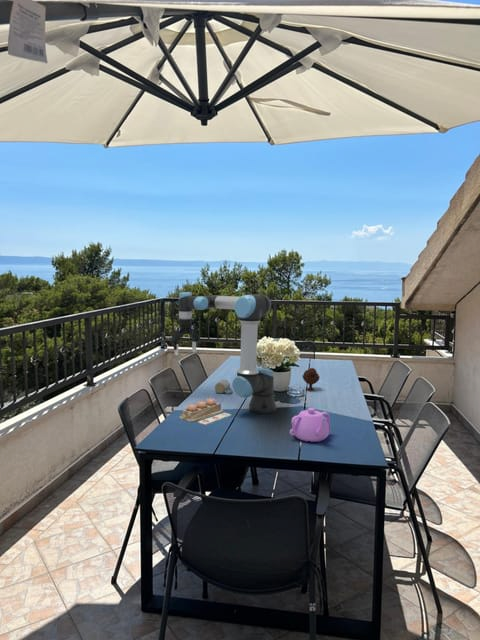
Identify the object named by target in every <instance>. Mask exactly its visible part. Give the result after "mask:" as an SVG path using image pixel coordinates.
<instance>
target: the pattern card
mask: <svg viewBox="0 0 480 640" xmlns="http://www.w3.org/2000/svg"><path fill="white" fill-rule="evenodd" d="M229 417H232V414H231V413H227V412H222V413H219V414H216V415H213V416H210V417H207V418H204V419H201V420H198V421H197V422H198V424H201V425H204V426H206V425H209V424H213V423H214V422H218V421H220V420H223V419H226V418H229Z"/></svg>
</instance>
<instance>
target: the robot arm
mask: <svg viewBox="0 0 480 640" xmlns="http://www.w3.org/2000/svg"><path fill="white" fill-rule="evenodd" d="M271 308H272V301H271V300H270V298H269V296H267V295H265V294H263V293H262V294H261V293H259V294H258V293H257V294H245V295H241V296H233V295H232V296H230V295H228V296H227V295H217V294H215V295H214V294H213V295H198V296H194V295H193V296H192V292H191V291H190V292H189V291H187V292H186V291H184V292H183V291H181V292H179V294H178V318H179V319H178V325H179V327H178V326H177V327H174V332H173V334H172V337H171V340H170V344H172V345H173V350H174V355H175V356H179V344H178V343H179V342H180V340H181V339H182V337H183V335H188V336H189V337H190V339H192V343H191V345H192V346H191V347H192V348H191V349H192V350H191V351H192V353H194V354H195V353H197V346H198V342H199V341H200V337H199V334H198V332H197V329H196V326H195V325H192V323H193V321H192V317H193V315H192V313H193V312H192V311H193V310H197V311H204V310H207V309H218V310H219V309H220V310H221V309H222V310H233V311H234V312H235V314H236V316H237V317H238V321H239V322H240V324H241V327H240V334H241V335H240V352H239V353H240V359H239V361H240V362H239V363H240V364H239V369H237V370H236V376H235V377H234V379H233V380H232V383H231V385H232V390H233V392H234V393H235V394H236V395H237V397H240V398H249V397H251V399H250V402H249V405H248V410H249V411H250V412H252V413H256V414H271V413H274V412H276V411H277V405H276V402H275V398H274V379H275V377H274V371H273V370H272V369H270V368H261V367H257V352H258V351H257V350H258V328H259V327H258V325H259V323H261V319H262V316H266V315H267V314H268V313H269V312H270V311H271Z"/></svg>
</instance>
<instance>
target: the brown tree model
mask: <svg viewBox="0 0 480 640" xmlns="http://www.w3.org/2000/svg"><path fill="white" fill-rule="evenodd" d="M302 379H303V381H304V382H305V383H306V384H308V386H309V387H308V388H306V391H307V390H308V391H307V392H315V391H314V390H315V388H313V385H314V384H316V383H317V382H318V381H319V380H320V375H319V373H318V372H317V369H316V368H314V367H310V368H309V369H307V370H304V372H303V375H302Z"/></svg>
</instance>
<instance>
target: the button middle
mask: <svg viewBox="0 0 480 640" xmlns="http://www.w3.org/2000/svg"><path fill="white" fill-rule="evenodd" d="M196 402H197V403H196V405H197V408H200V409H203V408H206V402H207V401H204V400H199V401H196Z"/></svg>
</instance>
